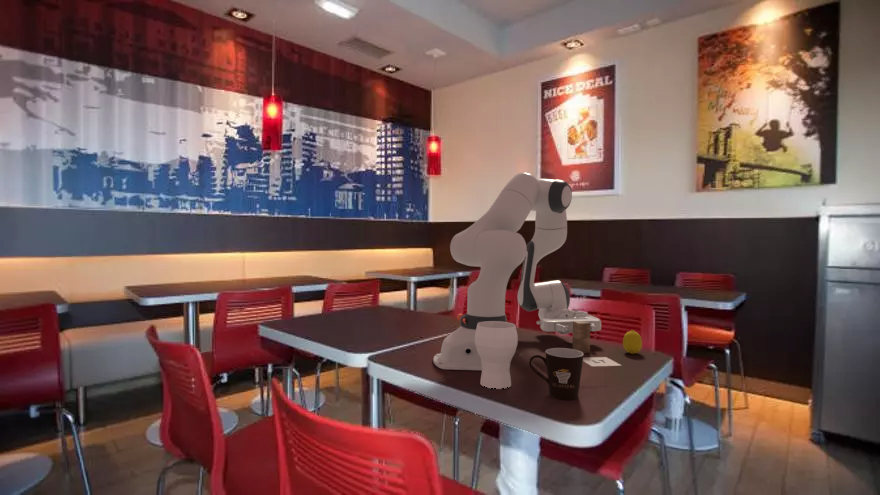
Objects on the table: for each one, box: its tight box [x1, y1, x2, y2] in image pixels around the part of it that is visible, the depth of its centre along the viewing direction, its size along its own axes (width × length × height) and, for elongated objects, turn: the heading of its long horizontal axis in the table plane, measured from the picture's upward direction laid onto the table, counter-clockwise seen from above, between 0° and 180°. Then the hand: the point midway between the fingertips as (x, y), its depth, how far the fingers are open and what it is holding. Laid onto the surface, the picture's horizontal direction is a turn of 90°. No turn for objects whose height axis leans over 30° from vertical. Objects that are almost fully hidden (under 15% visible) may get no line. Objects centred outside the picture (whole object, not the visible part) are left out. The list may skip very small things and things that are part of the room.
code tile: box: [583, 356, 622, 367], centre depth 130 cm, size 9×9×1 cm
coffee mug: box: [528, 347, 585, 401], centre depth 104 cm, size 12×9×10 cm
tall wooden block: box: [572, 321, 591, 354], centre depth 142 cm, size 4×4×10 cm
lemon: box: [622, 329, 643, 355], centre depth 140 cm, size 6×6×8 cm
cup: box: [475, 321, 519, 390], centre depth 111 cm, size 11×11×15 cm
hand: (579, 329), depth 143 cm, fingers open, 8 cm apart
